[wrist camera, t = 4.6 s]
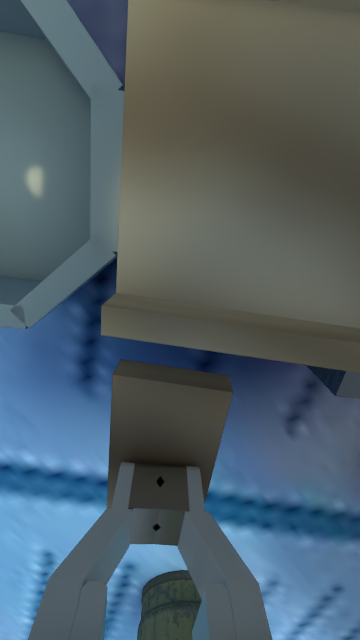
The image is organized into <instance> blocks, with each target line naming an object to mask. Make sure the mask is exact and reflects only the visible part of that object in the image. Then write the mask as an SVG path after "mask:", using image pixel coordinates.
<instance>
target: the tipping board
mask: <svg viewBox="0 0 360 640" xmlns="http://www.w3.org/2000/svg"><path fill="white" fill-rule="evenodd" d="M101 335H105V336H111V337H118V338H125V339H132V340H139V341H145V342H152V343H159V344H166V345H173V346H180V347H186V348H193V349H200V350H207V351H214V352H220V353H227V354H234V355H241V356H248V357H254V358H261V359H268V360H275V361H282V362H289V363H295V364H302V365H309V366H316V367H323V368H329V369H336V370H343V371H350V372H357V373H360V0H128V20H127V44H126V68H125V91H124V115H123V139H122V162H121V186H120V210H119V234H118V257H117V281H116V293H115V294H114V295H113V296H112V297H111V298H110V299H108V300H107V301H106V302H105V303H104V304H103V305H102V306H101ZM232 394H233V391H232V387H231V382H230V377H229V375H223V374H216V373H209V372H203V371H196V370H189V369H182V368H176V367H169V366H162V365H155V364H148V363H142V362H135V361H128V360H120V362H119V364H118V366H117V368H116V369H115V371H114V373H113V376H112V400H111V424H110V447H109V471H108V495H107V508H112V504H113V499H114V494H115V489H116V484H117V479H118V474H119V469H120V465H121V463H122V462H129V463H141V464H152V465H180V466H193V467H199V469H200V473H201V481H202V489H203V497H204V504H205V500H206V496H207V492H208V488H209V484H210V480H211V476H212V472H213V468H214V465H215V461H216V457H217V453H218V449H219V445H220V441H221V437H222V433H223V429H224V425H225V421H226V417H227V413H228V409H229V406H230V402H231V398H232Z"/></svg>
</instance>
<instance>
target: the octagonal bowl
mask: <svg viewBox="0 0 360 640" xmlns="http://www.w3.org/2000/svg"><path fill="white" fill-rule="evenodd" d="M124 91H125V90H124V87H123V85H122V83H121V82H120V80H119V79H118V77H117V76H116V74H115V73H114V71H113V70H112V68H111V67H110V65H109V64H108V62H107V60H106V59H105V57H104V56H103V54H102V53H101V51H100V50H99V48H98V47H97V45H96V44H95V42H94V41H93V39H92V38H91V36H90V35H89V33H88V32H87V30H86V29H85V27H84V26H83V24H82V23H81V21H80V20H79V18H78V17H77V15H76V14H75V12H74V11H73V9H72V8H71V6H70V5H69V3H68V2H67V0H0V327H9V328H18V329H27V328H28V327H29V328H30V327H32V326H33V325H34V324H36V323H37V322H38V321H40V320H41V319H42V318H44V317H45V316H46V315H47V314H49V313H50V312H51V311H53V310H54V309H55V308H57V307H58V306H59V305H60V304H62V303H63V302H64V301H66V300H67V299H68V298H70V297H71V296H72V295H73V294H75V293H76V292H77V291H78V290H79V289H81V288H82V287H83V286H84V285H85V284H87V283H88V282H89V281H90V280H91V279H93V278H94V277H95V276H96V275H97V274H99V273H100V272H101V271H102V270H103V269H104V268H106V267H107V266H108V265H109V264H110V263H112V262H113V261H114V260H115V259H116V258H117V257H118V234H119V210H120V186H121V162H122V139H123V115H124Z"/></svg>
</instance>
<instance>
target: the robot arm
mask: <svg viewBox="0 0 360 640" xmlns="http://www.w3.org/2000/svg"><path fill="white" fill-rule="evenodd" d="M130 544H161V545H176V546H178V549H179V551H180V553H181V555H182V558H183V560H184V562H185V564H186V566H187V569H188V571H189V573H190V575H191V577H192V579H193V582H194V584H195V586H196V588H197V590H198V592H199V595H200V597H201V599H202V602H201V605H200V608H199V611H198V614H197V617H196V621H195V624H194V627H193V630H192V640H272V636H271V632H270V628H269V624H268V620H267V616H266V612H265V608H264V604H263V600H262V595H261V591H260V587H259V583H258V582H257V581H256V579H255V578H254V576H253V575H252V573H251V572H250V570H249V569H248V568H247V566H246V565H245V563H244V562H243V560H242V559H241V557H240V556H239V555H238V553H237V552H236V550H235V549H234V547H233V546H232V544H231V543H230V542H229V540H228V539H227V537H226V536H225V534H224V533H223V531H222V530H221V529H220V527H219V526H218V524H217V523H216V521H215V520H214V518H213V517H212V516H211V514H210V513H208V512H205V505H204V497H203V489H202V481H201V473H200V469H199V467H193V466H180V465H152V464H141V463H129V462H122V463H121V465H120V469H119V474H118V479H117V484H116V489H115V494H114V499H113V504H112V508H107V509H106V510H105V511H104V513H103V514H102V515H101V516H100V517H99V519H98V520H97V521H96V522H95V524H94V525H93V526H92V527H91V528H90V530H89V531H88V532H87V533H86V534H85V536H84V537H83V538H82V539H81V540H80V542H79V543H78V544H77V545H76V546H75V548H74V549H73V550H72V551H71V552H70V554H69V555H68V556H67V557H66V558H65V560H64V561H63V562H62V563H61V564H60V566H59V567H58V568H57V569H56V570H55V572H54V573H53V574H52V575H51V576H50V578H49V580H48V583H47V586H46V589H45V592H44V595H43V597H42V600H41V603H40V606H39V609H38V612H37V615H36V618H35V621H34V624H33V627H32V630H31V633H30V635H29V638H28V640H104V634H105V621H106V604H107V586H106V584H107V583H108V581H109V579H110V578H111V576H112V574H113V573H114V571H115V569H116V568H117V566H118V564H119V563H120V561H121V559H122V558H123V556H124V554H125V553H126V551H127V549H128V548H129V545H130Z"/></svg>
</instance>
